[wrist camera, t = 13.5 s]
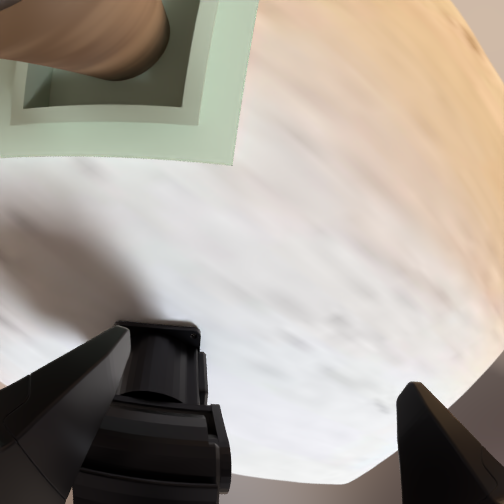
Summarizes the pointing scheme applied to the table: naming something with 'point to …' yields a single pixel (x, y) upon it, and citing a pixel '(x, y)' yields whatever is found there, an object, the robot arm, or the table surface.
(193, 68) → the sage tray
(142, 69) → the pepper mill
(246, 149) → the table surface
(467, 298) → the table surface
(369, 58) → the table surface
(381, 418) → the table surface
